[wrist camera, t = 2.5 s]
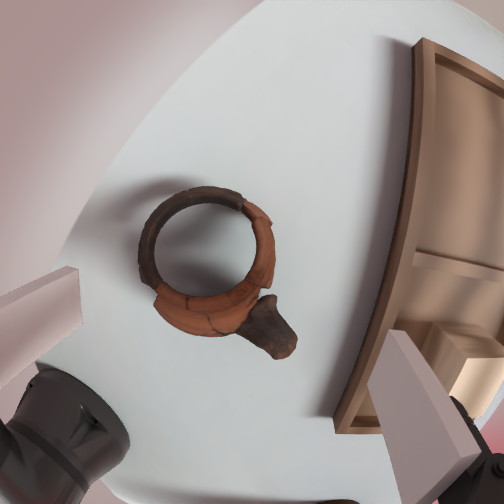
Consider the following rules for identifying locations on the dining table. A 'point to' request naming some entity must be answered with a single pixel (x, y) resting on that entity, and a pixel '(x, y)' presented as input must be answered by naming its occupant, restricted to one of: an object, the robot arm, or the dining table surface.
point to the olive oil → (340, 502)
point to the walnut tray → (440, 219)
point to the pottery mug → (233, 301)
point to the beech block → (465, 363)
